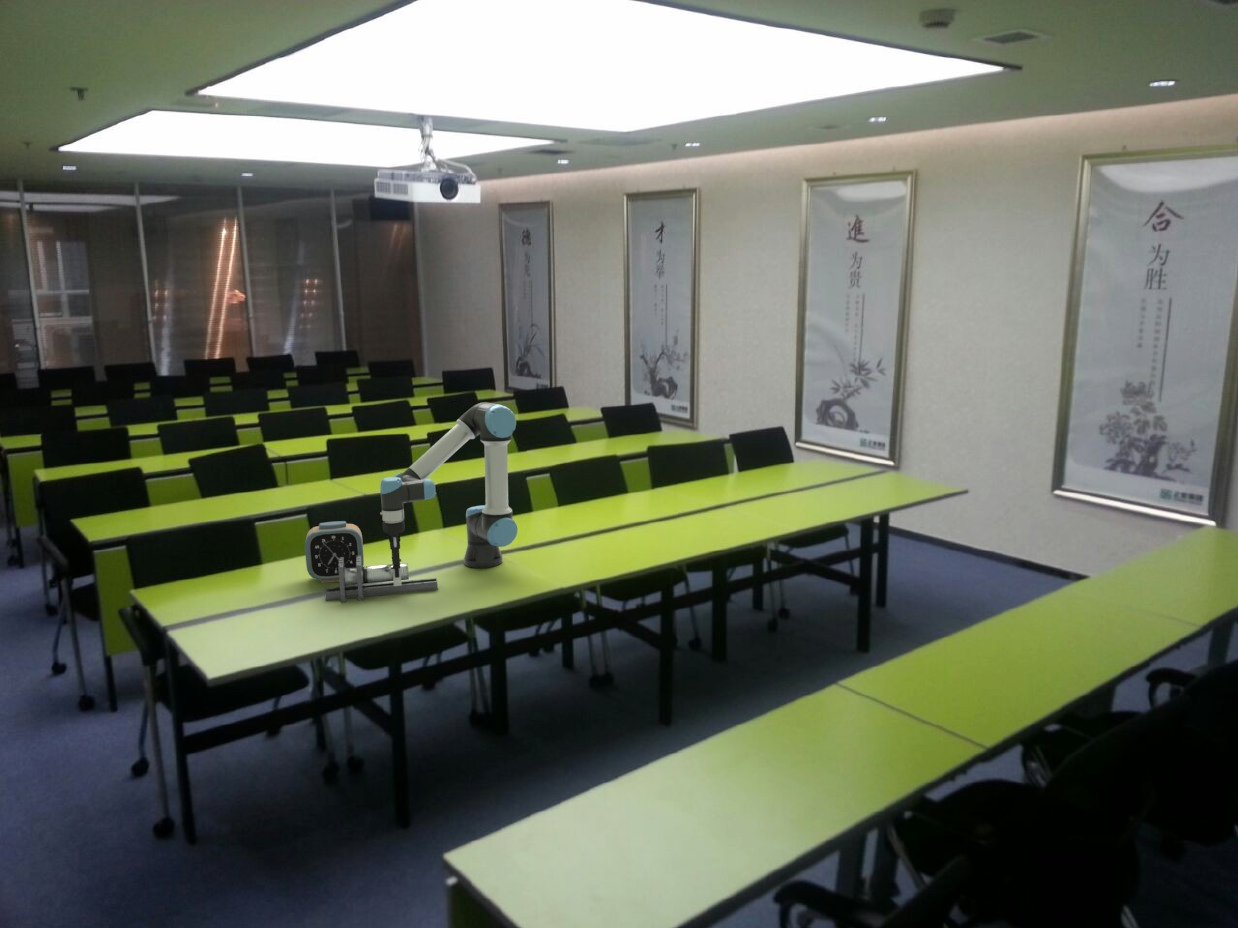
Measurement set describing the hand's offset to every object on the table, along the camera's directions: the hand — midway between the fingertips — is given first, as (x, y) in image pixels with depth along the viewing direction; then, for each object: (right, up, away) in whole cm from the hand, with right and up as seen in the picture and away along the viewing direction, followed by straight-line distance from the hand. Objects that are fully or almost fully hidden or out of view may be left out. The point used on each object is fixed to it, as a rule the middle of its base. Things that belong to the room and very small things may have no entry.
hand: (397, 582), depth 338 cm
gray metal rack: (-5, -4, -1) cm, 6 cm away
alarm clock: (-27, -1, +17) cm, 32 cm away
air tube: (-7, 0, -2) cm, 7 cm away
